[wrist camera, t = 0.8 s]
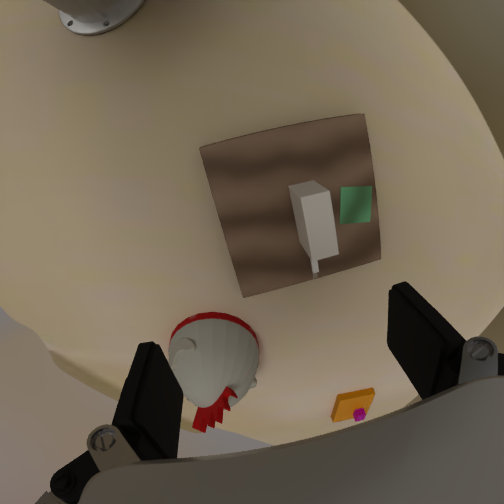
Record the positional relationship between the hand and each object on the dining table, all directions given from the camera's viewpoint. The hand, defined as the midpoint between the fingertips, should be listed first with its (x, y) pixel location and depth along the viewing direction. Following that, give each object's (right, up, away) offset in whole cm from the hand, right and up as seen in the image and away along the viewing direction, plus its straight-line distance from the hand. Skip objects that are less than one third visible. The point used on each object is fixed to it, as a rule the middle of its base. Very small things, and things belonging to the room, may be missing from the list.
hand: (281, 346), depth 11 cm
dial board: (+5, +10, +27) cm, 29 cm away
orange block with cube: (+20, -28, +46) cm, 57 cm away
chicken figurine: (-7, -11, +35) cm, 38 cm away
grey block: (+6, +7, +26) cm, 27 cm away
